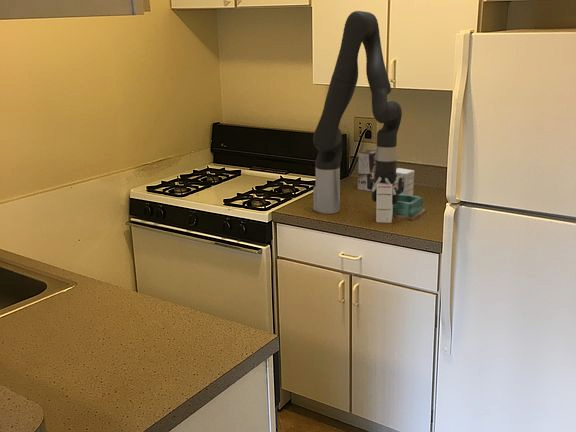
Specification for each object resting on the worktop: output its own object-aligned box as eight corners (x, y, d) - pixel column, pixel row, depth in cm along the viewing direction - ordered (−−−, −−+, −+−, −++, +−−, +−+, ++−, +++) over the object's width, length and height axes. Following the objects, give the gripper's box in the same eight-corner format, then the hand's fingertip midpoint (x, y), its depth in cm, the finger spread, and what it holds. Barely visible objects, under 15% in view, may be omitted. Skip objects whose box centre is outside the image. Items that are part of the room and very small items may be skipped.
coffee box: (370, 191, 274) (371, 154, 269) (357, 189, 277) (357, 152, 272) (379, 186, 281) (381, 150, 276) (366, 184, 284) (367, 149, 279)
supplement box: (388, 201, 259) (389, 171, 255) (397, 197, 265) (398, 167, 261) (405, 204, 255) (406, 173, 251) (413, 200, 260) (414, 169, 256)
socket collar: (380, 215, 241) (381, 200, 239) (394, 206, 251) (395, 192, 249) (413, 221, 234) (413, 205, 232) (426, 211, 244) (427, 196, 243)
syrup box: (391, 223, 232) (393, 184, 228) (375, 222, 233) (376, 183, 229) (392, 218, 238) (393, 180, 233) (376, 217, 239) (377, 179, 234)
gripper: (363, 158, 229) (362, 202, 234) (400, 162, 222) (398, 208, 227) (372, 154, 235) (371, 197, 240) (409, 158, 228) (407, 202, 233)
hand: (384, 202), depth 233 cm, fingers closed on syrup box, 7 cm apart
